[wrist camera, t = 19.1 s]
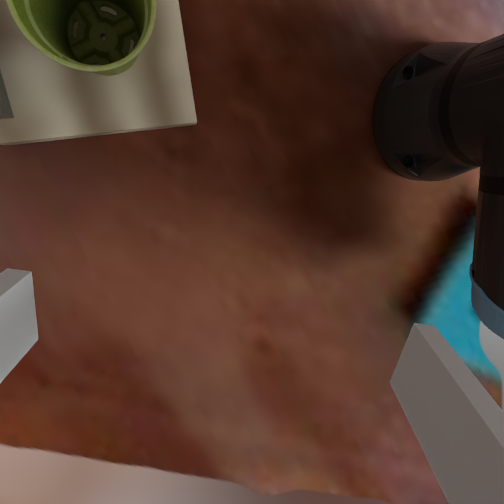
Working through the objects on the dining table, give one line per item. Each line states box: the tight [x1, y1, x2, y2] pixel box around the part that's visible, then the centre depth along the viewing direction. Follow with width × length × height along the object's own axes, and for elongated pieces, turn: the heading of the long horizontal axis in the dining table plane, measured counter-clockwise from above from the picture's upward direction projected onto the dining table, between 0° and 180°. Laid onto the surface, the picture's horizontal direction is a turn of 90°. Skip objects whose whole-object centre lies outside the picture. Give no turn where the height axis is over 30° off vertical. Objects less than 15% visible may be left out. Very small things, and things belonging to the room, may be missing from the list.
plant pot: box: [6, 0, 156, 76], centre depth 28 cm, size 9×9×9 cm
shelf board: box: [0, 0, 197, 145], centre depth 32 cm, size 18×16×2 cm
